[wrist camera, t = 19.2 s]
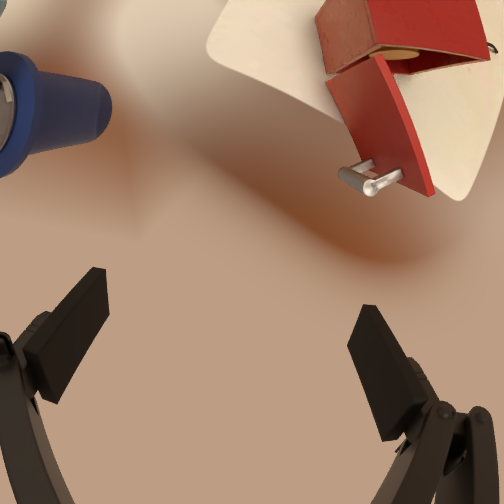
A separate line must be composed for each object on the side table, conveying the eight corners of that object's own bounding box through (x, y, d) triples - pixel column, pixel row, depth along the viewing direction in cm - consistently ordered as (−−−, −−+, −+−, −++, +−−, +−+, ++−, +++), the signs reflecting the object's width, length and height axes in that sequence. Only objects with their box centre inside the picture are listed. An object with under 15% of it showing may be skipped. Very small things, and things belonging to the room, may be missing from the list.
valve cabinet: (411, 75, 31) (491, 60, 16) (326, 74, 31) (378, 43, 17) (400, 21, 28) (469, -15, 13) (314, 17, 28) (354, -41, 14)
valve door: (335, 182, 36) (385, 219, 22) (293, 95, 32) (323, 74, 18) (370, 166, 35) (435, 193, 21) (331, 79, 31) (382, 53, 17)
